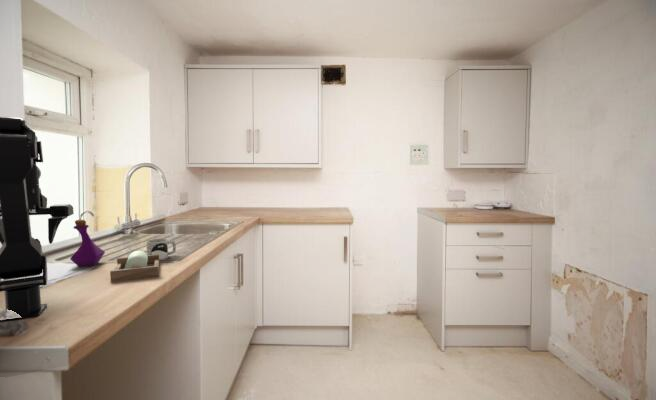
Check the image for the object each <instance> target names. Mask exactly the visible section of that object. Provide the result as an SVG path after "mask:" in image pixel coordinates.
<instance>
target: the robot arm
mask: <svg viewBox="0 0 656 400" xmlns="http://www.w3.org/2000/svg"><path fill="white" fill-rule="evenodd" d="M37 163H44V156H43V148H42V140H38V136H36V132H35V131H34V130H33V129H31V128H30V127H29V126H28V125H27V120H26V119H22V118H21V117H12V116H10V117H9V116H0V244H1V247H0V292H4V301H5V302H4V303H5V310H6V309H8V310H12V311H14V312H16V313H17V314H19V315H20V316H21V317H22V318H21V319H26V318H33V317H38V316H40V314H41V313H42V312H43V311H44V310H45V308H47V306H48V304H47V303H42V299H41V286H47V285H48V259H47V254H46V253H43V248H42V247H43V246H42V244H41V240H40V239H38V238H34V237H33V236H32V230H31V229H32V228H31V221H30V220H31V219H30V216H40V215H41V216H43V215H45V216H47V215H50V216H51V217H48V218H47V231H48V233H47V234H48V235H47V236H48V243H49V244H53V242H54V239H55V236H56V233H57V231H58V228H59V226H60V224H61V223H62V221H63V220H65V219H67V218H68V217H70V216H72V215H74V207H73V205H71V204H69V203H68V204H53V205H50V206H49V207H47V206H48V198H47V197H46V196H45V195H43V194H42V190H41V189H42V188H41V187H40V178H41V177H42V176H41V175H42V172H41V171H42V170H41V169H40V168H39V167H38V166H37Z"/></svg>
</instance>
